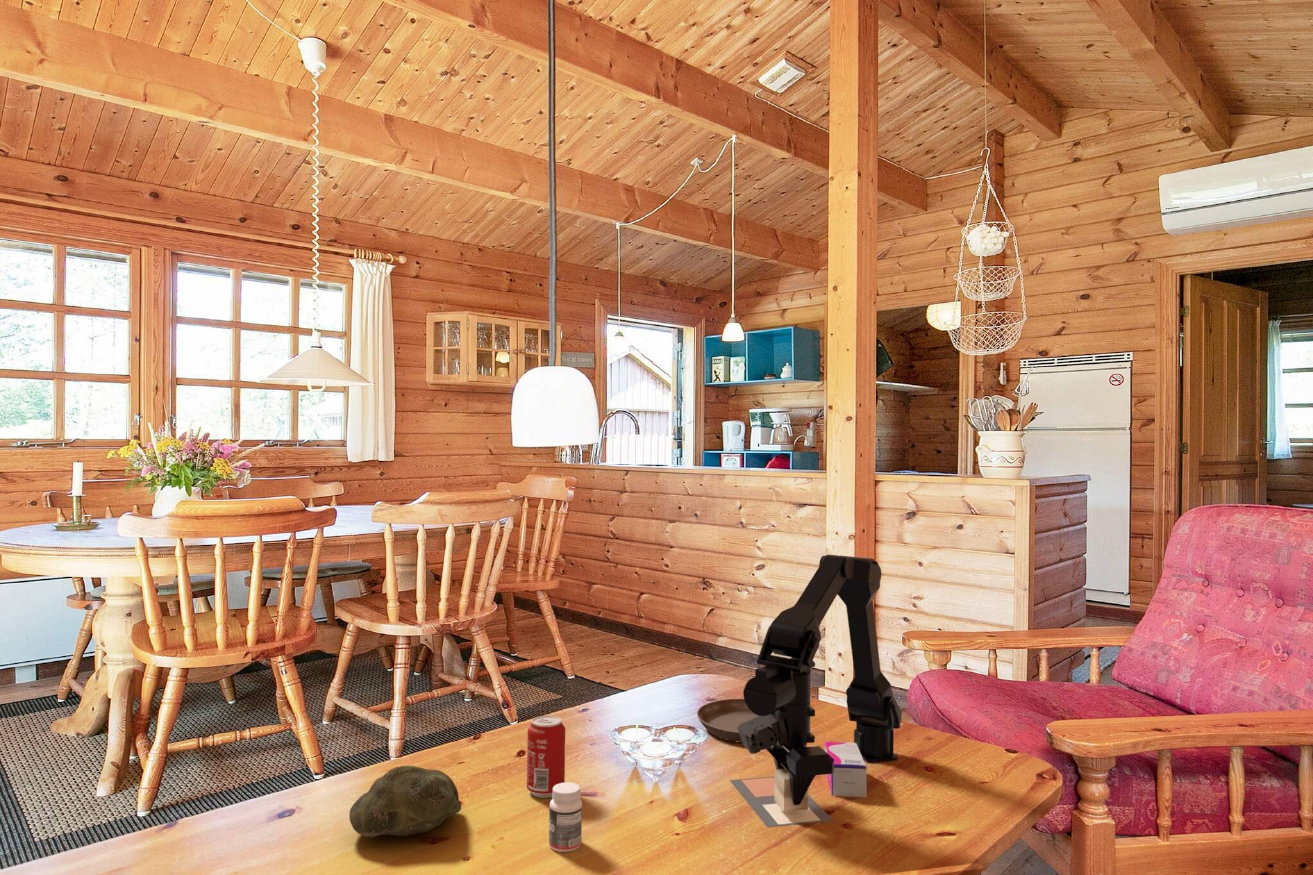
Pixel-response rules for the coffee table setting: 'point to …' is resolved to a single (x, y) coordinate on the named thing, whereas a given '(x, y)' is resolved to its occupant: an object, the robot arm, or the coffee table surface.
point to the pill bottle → (565, 818)
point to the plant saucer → (725, 717)
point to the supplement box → (847, 770)
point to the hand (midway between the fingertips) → (791, 798)
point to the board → (769, 812)
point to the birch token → (786, 792)
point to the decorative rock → (405, 803)
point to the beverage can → (545, 755)
